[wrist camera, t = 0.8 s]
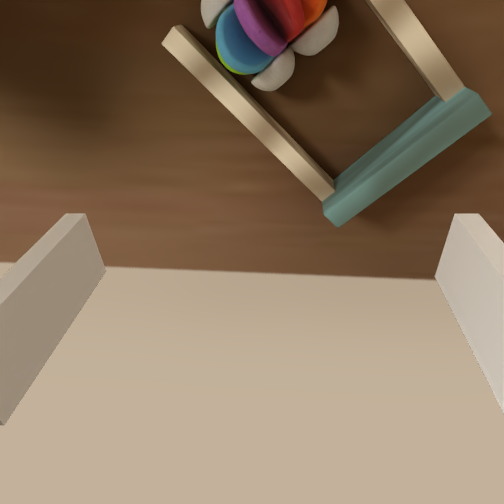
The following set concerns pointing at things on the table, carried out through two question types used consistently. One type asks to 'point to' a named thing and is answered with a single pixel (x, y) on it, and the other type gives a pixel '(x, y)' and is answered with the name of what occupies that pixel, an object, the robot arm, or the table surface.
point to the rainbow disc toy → (268, 35)
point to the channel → (383, 153)
